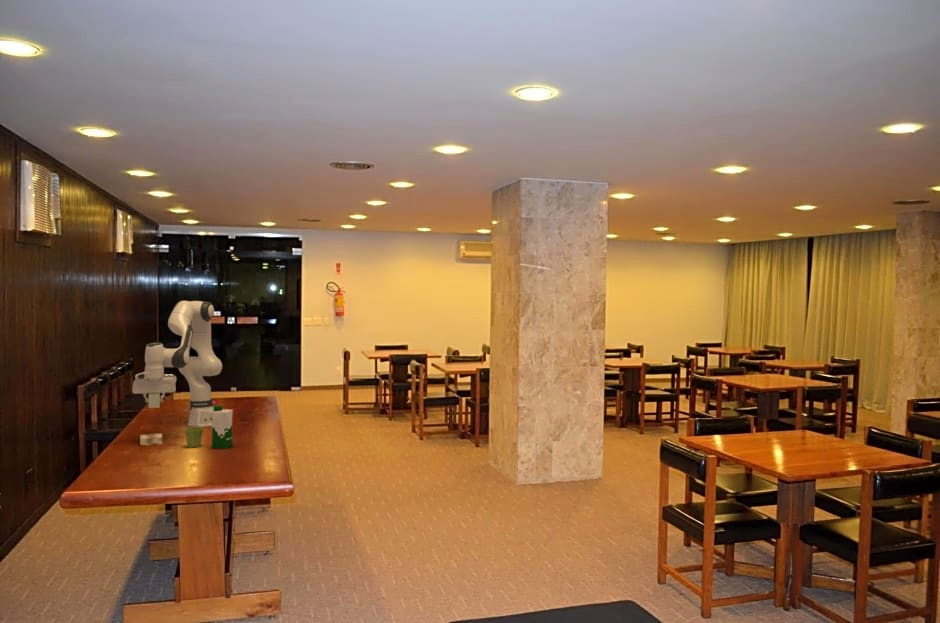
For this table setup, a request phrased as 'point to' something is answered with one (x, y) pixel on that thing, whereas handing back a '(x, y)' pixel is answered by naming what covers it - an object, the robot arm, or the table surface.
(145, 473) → the table surface
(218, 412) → the milk carton
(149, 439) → the birch block
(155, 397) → the sage block
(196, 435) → the plant pot
